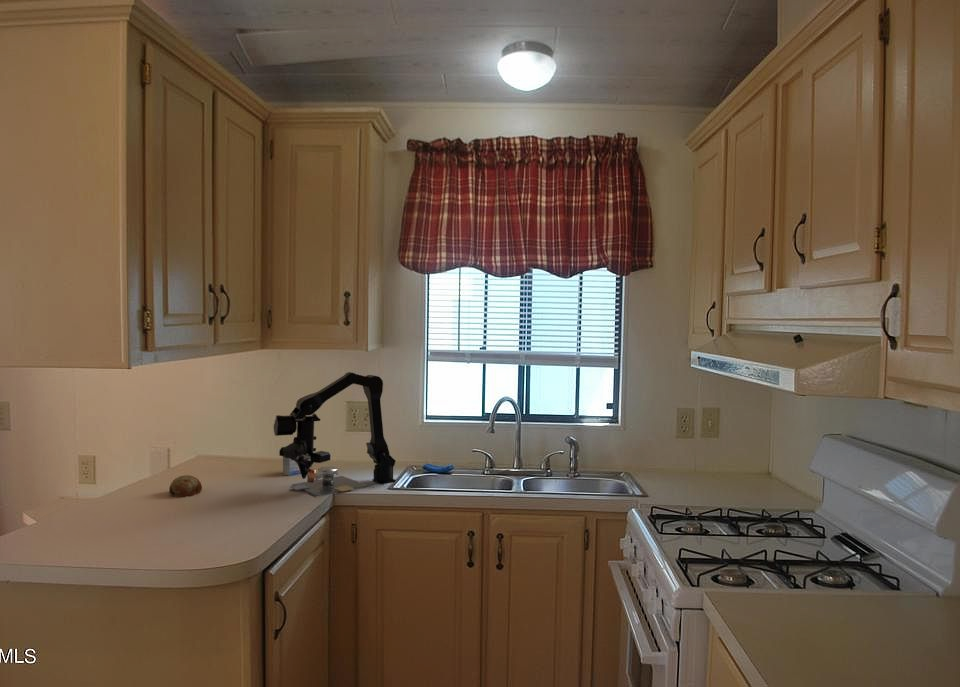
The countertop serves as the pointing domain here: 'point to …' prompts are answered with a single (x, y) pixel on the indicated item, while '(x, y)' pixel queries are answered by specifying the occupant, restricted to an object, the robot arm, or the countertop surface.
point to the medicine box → (290, 467)
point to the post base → (328, 485)
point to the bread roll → (185, 486)
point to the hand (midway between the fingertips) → (303, 478)
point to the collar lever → (321, 473)
